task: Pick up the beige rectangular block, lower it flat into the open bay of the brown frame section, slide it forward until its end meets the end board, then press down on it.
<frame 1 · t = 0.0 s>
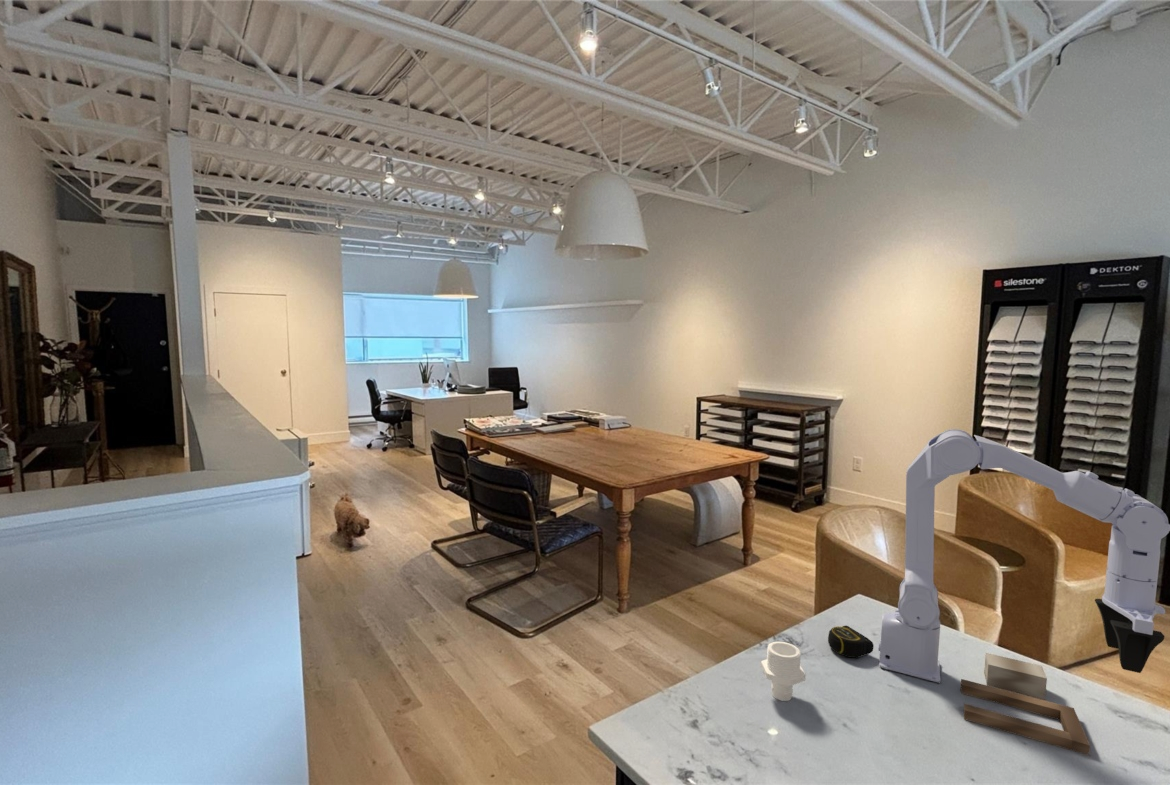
hand: (1123, 658, 89), 10 cm above the table, fingers open, 7 cm apart
pipe fitting: (781, 696, 95), on the table
beige rectangular block: (1013, 687, 99), on the table
tape measure: (848, 651, 110), on the table
brown frame section: (1015, 717, 90), on the table
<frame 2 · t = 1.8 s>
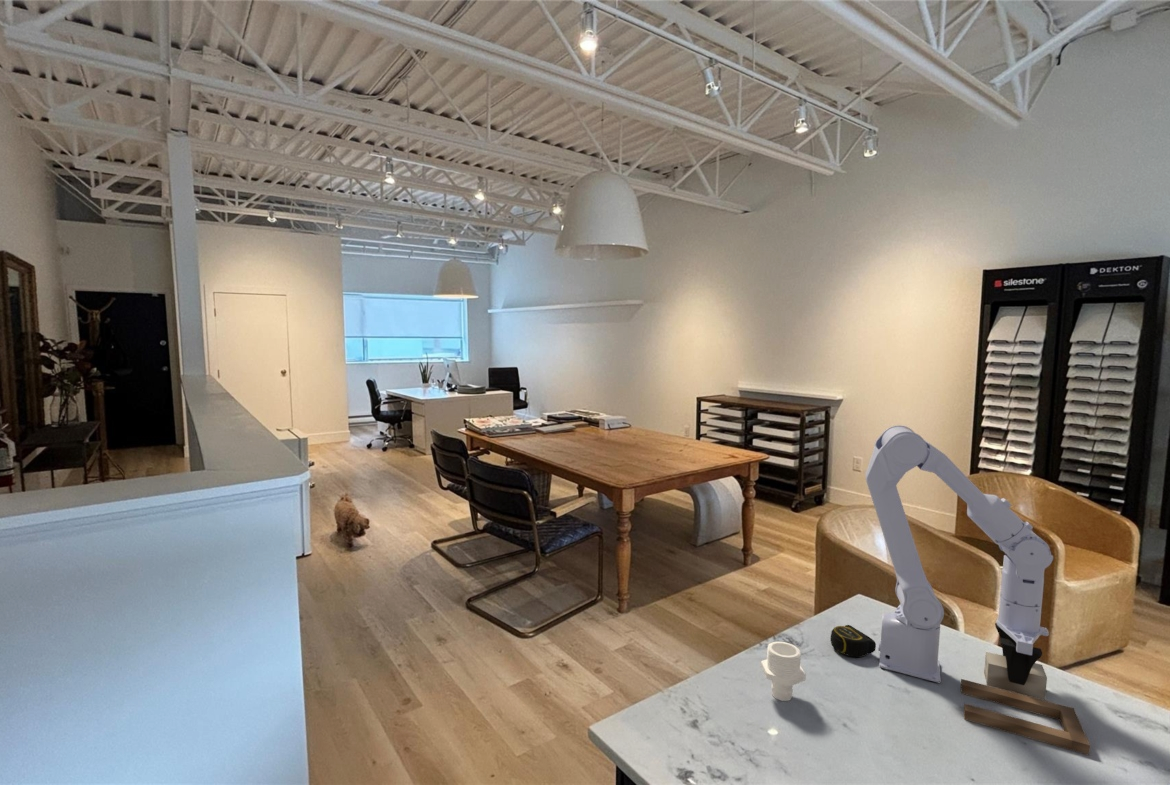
hand: (1014, 675, 99), 2 cm above the table, fingers closed on beige rectangular block, 4 cm apart
beige rectangular block: (1013, 686, 99), on the table, touching gripper
everything else where it was.
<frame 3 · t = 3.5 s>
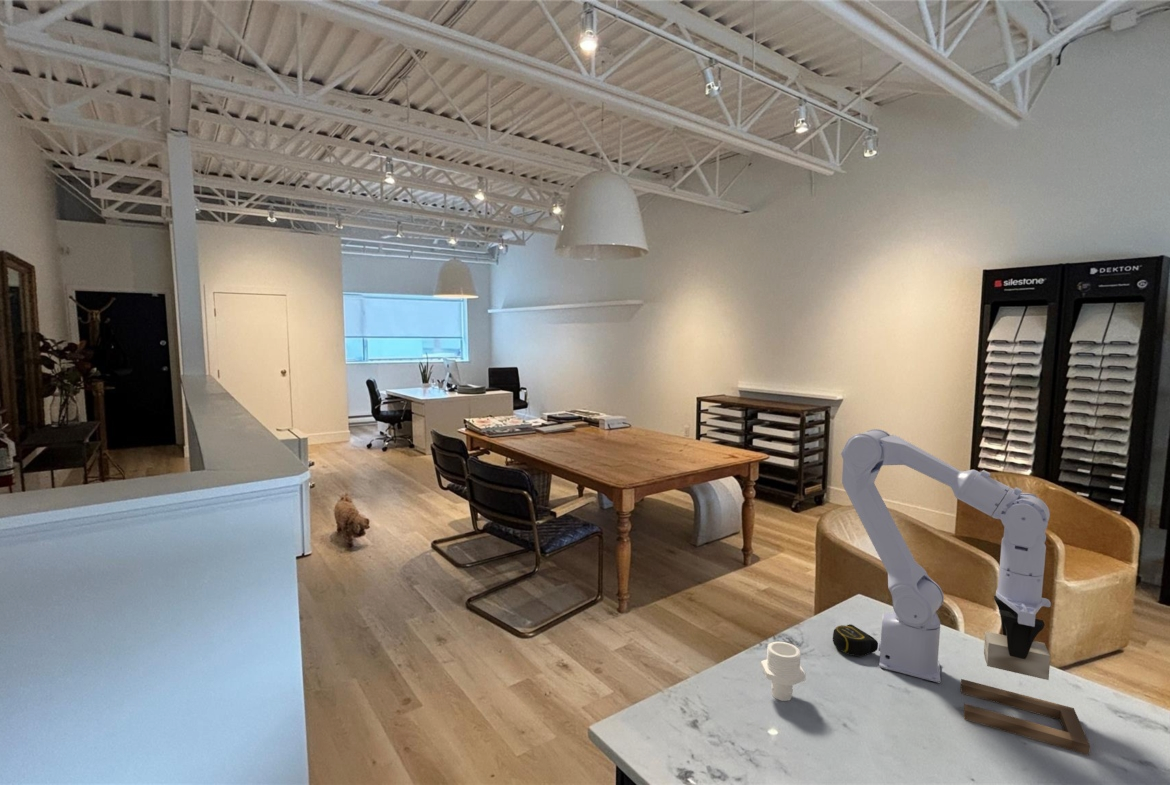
hand: (1014, 649, 94), 9 cm above the table, fingers closed on beige rectangular block, 4 cm apart
beige rectangular block: (1014, 666, 94), point 6 cm above the table, touching gripper
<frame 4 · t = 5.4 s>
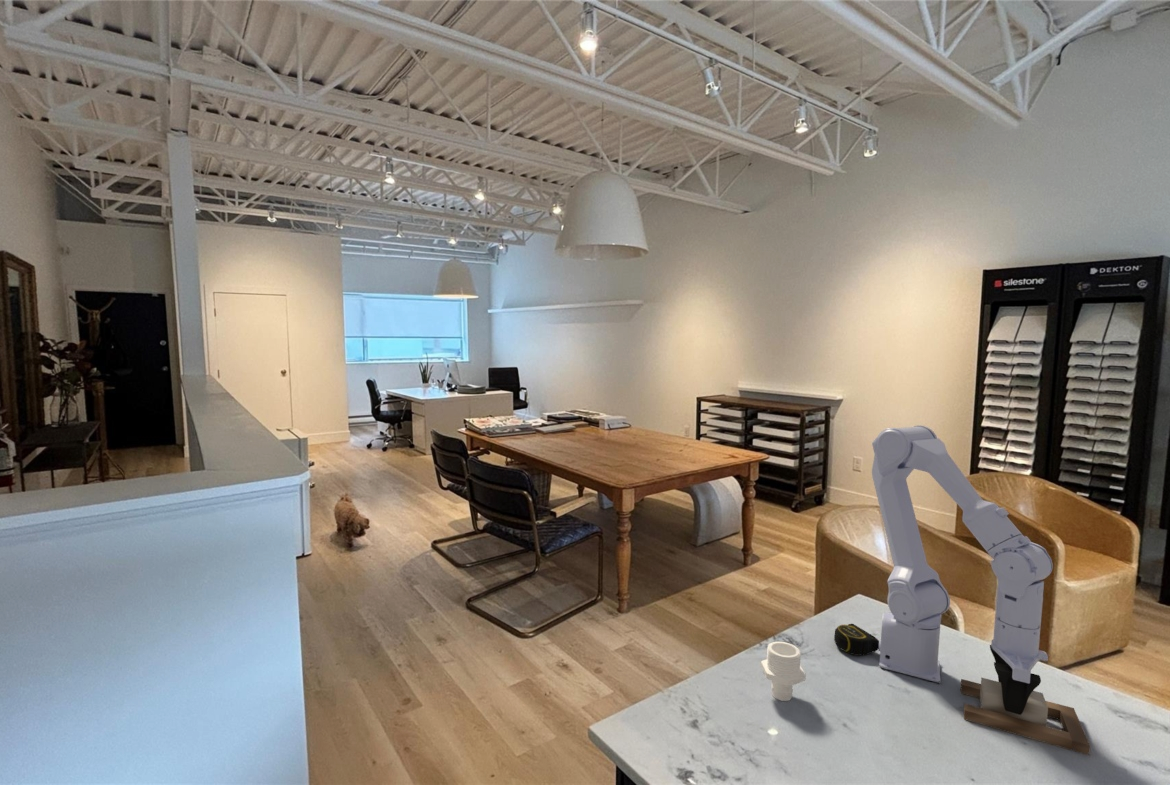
hand: (1010, 702, 90), 2 cm above the table, fingers closed on beige rectangular block, 4 cm apart
beige rectangular block: (1011, 716, 91), resting in brown frame section, touching gripper
when the fingers open (2 cm above the table, at t = 6.7 s): beige rectangular block stays where it is, resting in brown frame section.
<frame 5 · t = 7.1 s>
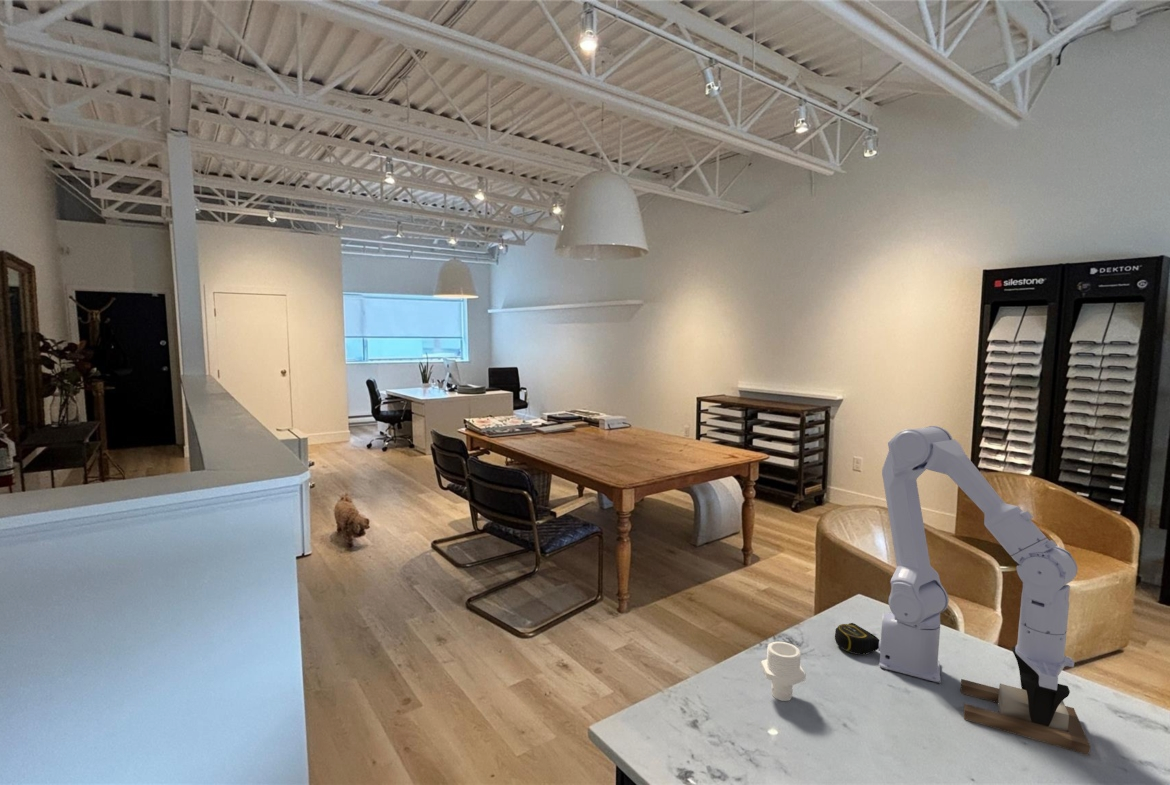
hand: (1035, 709, 89), 2 cm above the table, fingers open, 7 cm apart
beige rectangular block: (1030, 722, 89), resting in brown frame section
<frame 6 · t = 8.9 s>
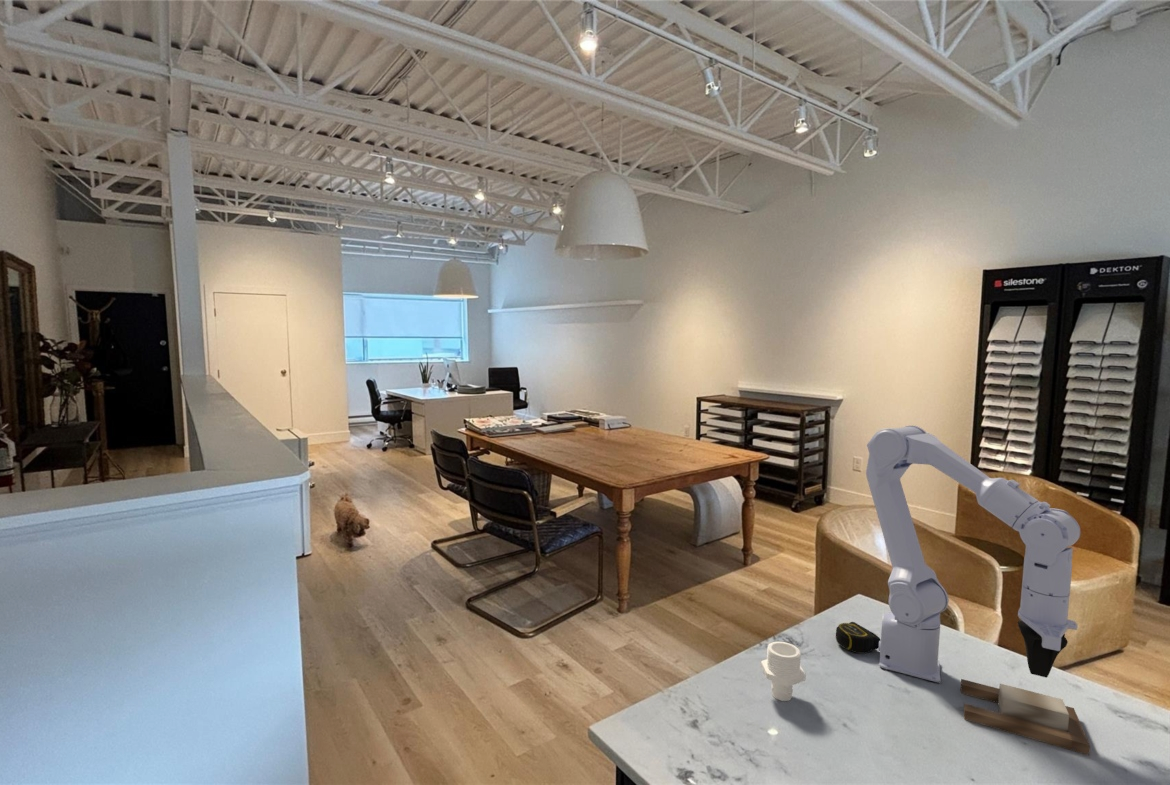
hand: (1038, 673, 88), 8 cm above the table, fingers closed
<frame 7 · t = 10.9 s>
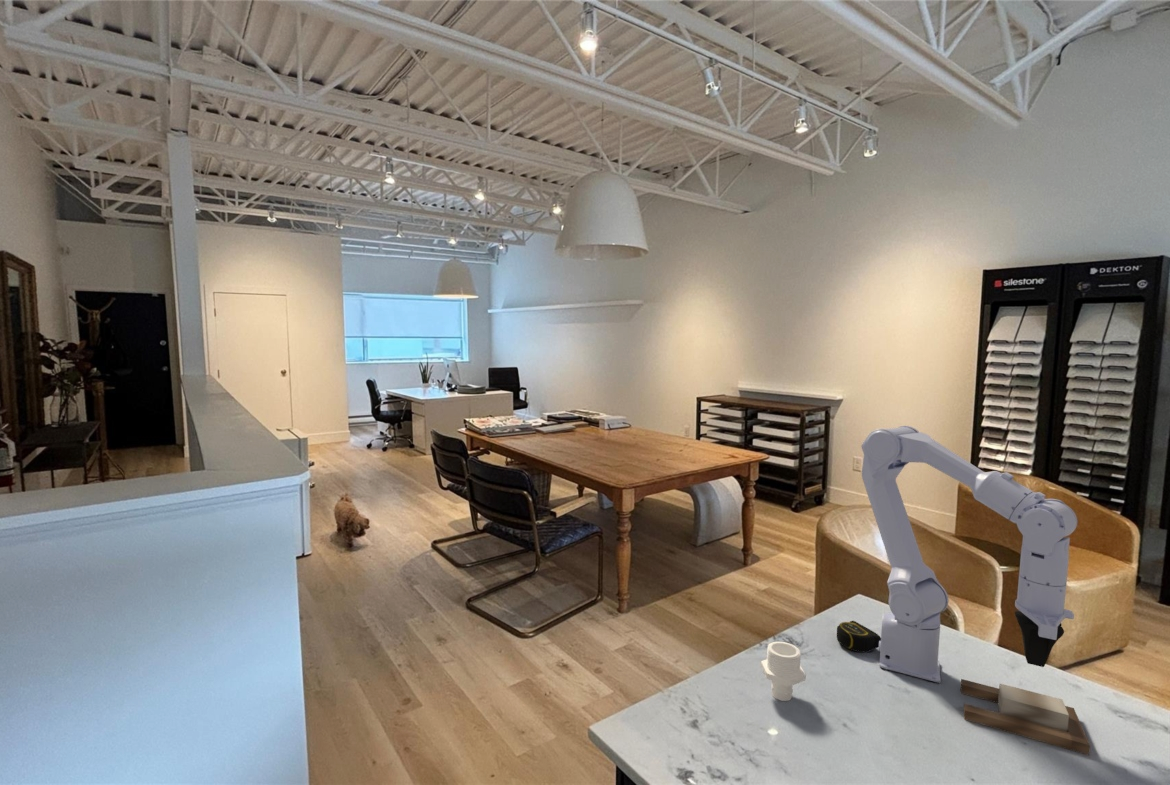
hand: (1034, 663, 89), 9 cm above the table, fingers closed
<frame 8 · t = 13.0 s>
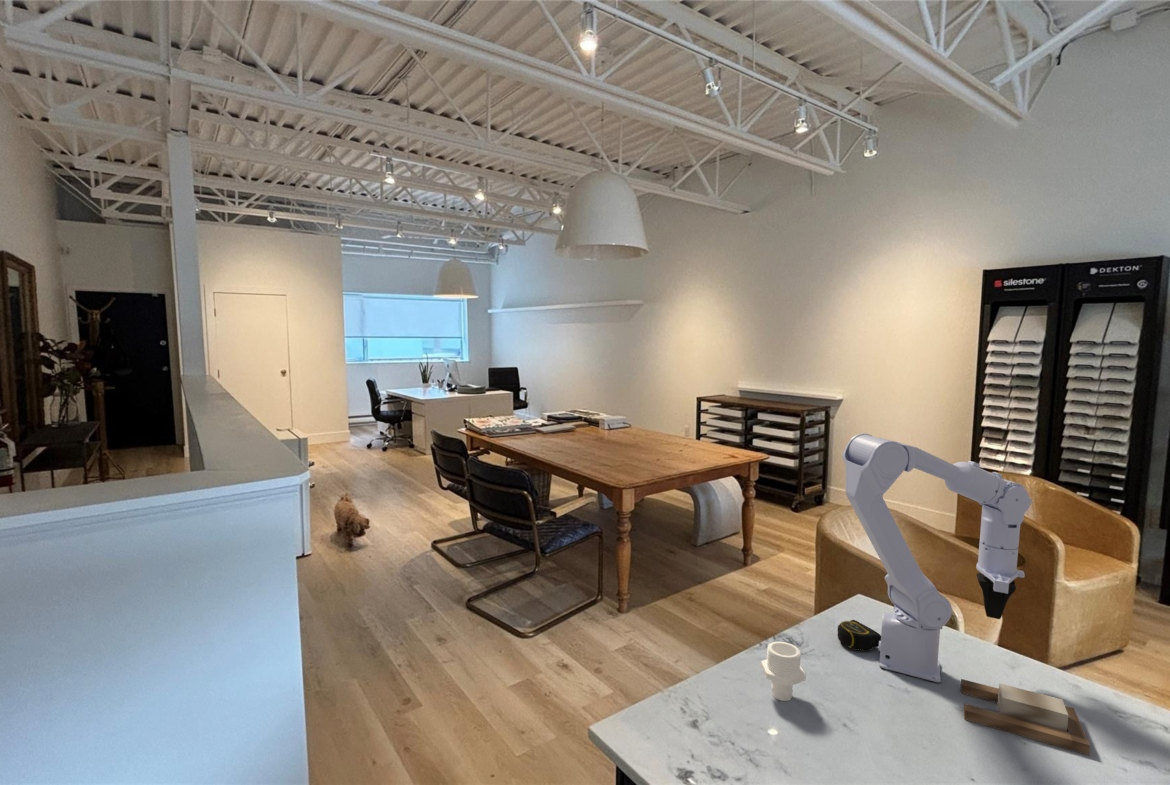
hand: (992, 616, 104), 9 cm above the table, fingers closed
at the end: beige rectangular block 0.1 cm from the target spot on the brown frame section, point 0.0 cm above the brown frame section's base; beige rectangular block tilted 0°; the gripper is holding nothing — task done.
